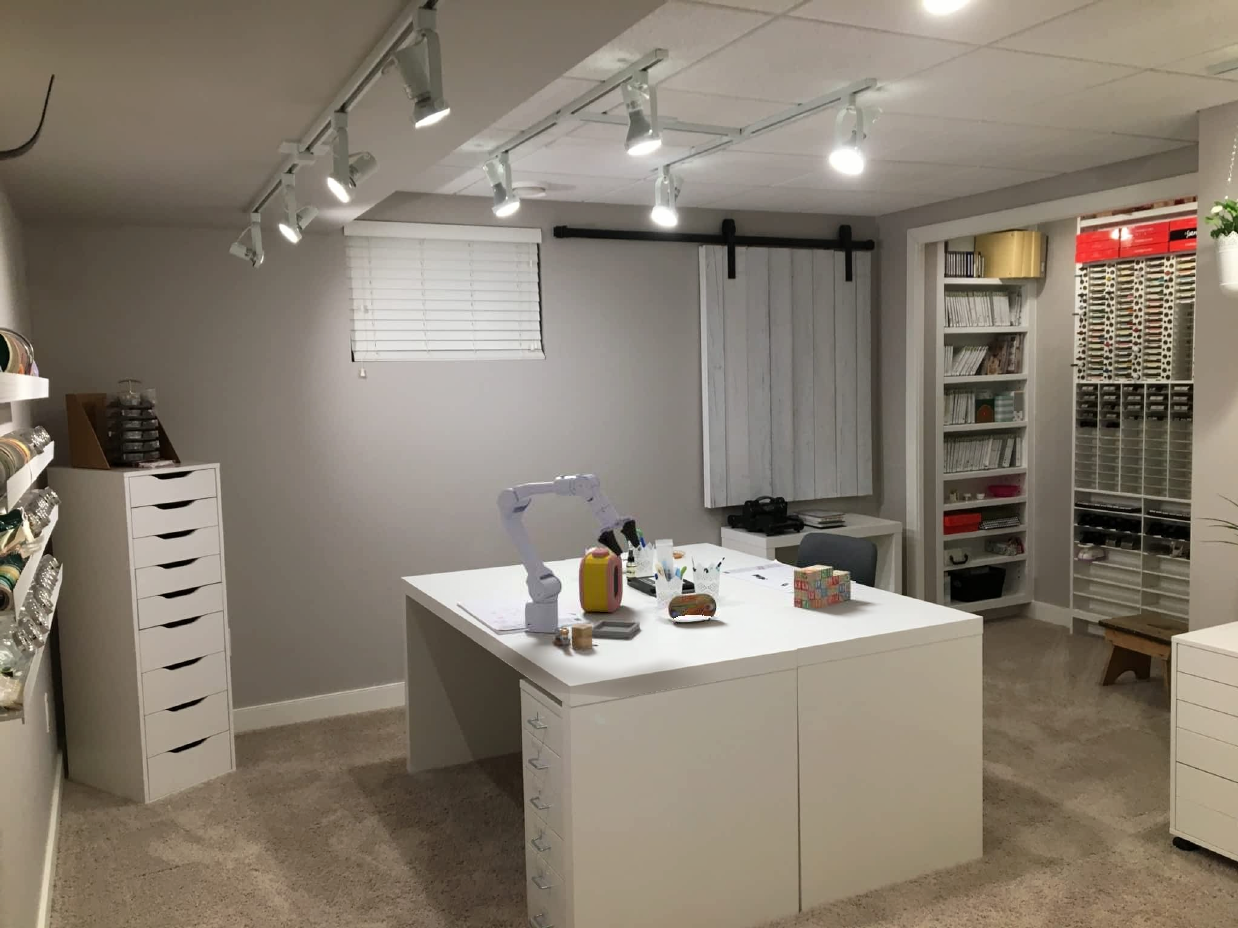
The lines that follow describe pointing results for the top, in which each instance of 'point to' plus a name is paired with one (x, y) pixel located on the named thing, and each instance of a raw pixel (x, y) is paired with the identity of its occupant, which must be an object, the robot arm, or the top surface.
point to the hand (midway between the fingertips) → (629, 550)
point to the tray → (615, 629)
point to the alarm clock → (600, 581)
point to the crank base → (558, 642)
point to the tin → (692, 605)
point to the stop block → (581, 636)
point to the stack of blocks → (820, 586)
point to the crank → (562, 635)
